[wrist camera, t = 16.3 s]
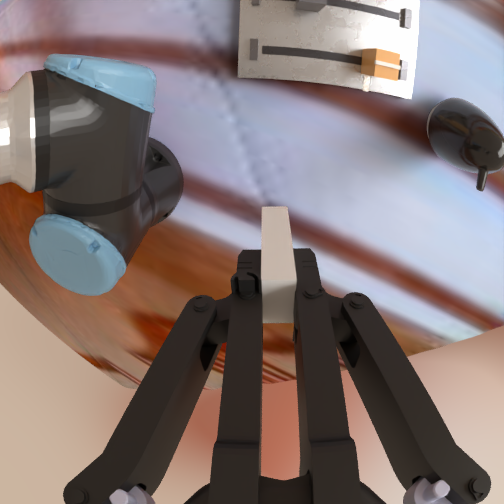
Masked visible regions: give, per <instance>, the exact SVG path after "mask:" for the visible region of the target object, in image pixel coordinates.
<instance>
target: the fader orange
mask: <svg viewBox="0 0 504 504" xmlns="http://www.w3.org/2000/svg"><path fill="white" fill-rule="evenodd" d="M399 64H400V54H399V53H396V52H392V51H387V50H383V49H379V48H369V49H363V51H362V63H361V74H365V75H370V76H374V77H379V78H384V79H389V80H393V81H397V82H398V73H399V70H400V69H401V66H399Z"/></svg>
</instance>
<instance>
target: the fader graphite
mask: <svg viewBox="0 0 504 504" xmlns="http://www.w3.org/2000/svg"><path fill="white" fill-rule="evenodd" d="M326 5H327V0H296V9H298V10H308V11H316V12H319V11H320V10H321V9H322V8H323V7H325V6H326Z"/></svg>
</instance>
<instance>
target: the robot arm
mask: <svg viewBox="0 0 504 504" xmlns="http://www.w3.org/2000/svg"><path fill="white" fill-rule="evenodd" d="M43 67H44V68H45V69H43V70H37V71H30V72H26V73H25V74H24V75H23V76H22V77H21V78H20V79H19V80H18V81H17V82H16V84H15V85H14V86H13V87H12V88H11V89H9V90H7V91H5V92H0V184H4V183H8V182H13V183H16V184H18V185H19V186H20V187H22V188H23V189H25V190H26V191H27V192H29V193H32V192H36V191H40V190H43V203H44V213H43V215H42V216H41V217H39V218H37V219H36V220H35V223H34V226H33V227H32V229H31V231H30V236H29V243H30V248H31V251H32V254H33V256H34V258H35V260H36V261H37V263H38V264H39V266H40V267H41V268H42V270H43V271H44V272H45V273H46V274H47V275H48V276H50V277H51V278H52V279H53V280H54V281H55V282H56V283H58V284H59V285H61V286H62V287H64V288H66V289H68V290H70V291H73V292H75V293H78V294H82V295H89V296H95V295H101V294H103V293H105V292H108V291H110V290H111V289H112V288H113V287H114V286H115V284H116V283H117V281H118V280H119V279H120V278H121V277H122V276H123V274H124V273H125V269H126V267H127V265H128V264H129V262H130V260H131V258H132V257H133V255H134V253H135V251H136V250H137V248H138V246H139V245H140V243H141V241H142V239H143V238H144V236H145V234H146V233H147V231H148V229H149V228H150V227H152V226H154V225H156V224H157V223H159V222H161V221H163V220H164V219H166V218H167V217H168V216H169V215H170V214H171V213H172V212H173V210H174V209H175V207H176V205H177V204H178V202H179V200H180V198H181V195H182V191H183V175H182V170H181V167H180V165H179V163H178V161H177V159H176V157H175V156H174V154H173V153H172V152H171V151H170V150H169V149H168V148H167V147H166V146H165V145H163V144H162V143H161V142H159V141H157V140H155V139H153V138H150V137H149V130H150V124H151V118H152V113H154V111H155V108H154V107H153V104H154V97H155V90H156V83H157V82H156V76H155V74H154V72H153V71H152V70H151V69H150V68H148V67H146V66H143V65H139V64H135V63H130V62H125V61H119V60H113V59H106V58H99V57H92V56H82V55H69V54H51V55H49V56H48V57H47V59H46V62H44V66H43ZM231 289H232V294H230V295H229V296H228V297H226V298H223V299H220V300H216V301H215V300H214V299H213V298H212V297H209V296H207V295H199V296H195V297H193V298H192V299H190V300H189V301H188V302H187V304H186V306H185V307H184V309H183V311H182V312H181V314H180V316H179V318H178V319H177V321H176V323H175V324H174V326H173V328H172V330H171V331H170V333H169V335H168V336H167V338H166V340H165V342H164V343H163V345H162V347H161V349H160V350H159V352H158V354H157V356H156V357H155V359H154V361H153V363H152V364H151V366H150V368H149V370H148V371H147V373H146V375H145V377H144V378H143V380H142V382H141V384H140V386H139V387H138V389H137V391H136V393H135V395H134V396H133V398H132V400H131V402H130V404H129V405H128V407H127V409H126V411H125V413H124V414H123V416H122V418H121V420H120V422H119V424H118V425H117V427H116V429H115V431H114V433H113V435H112V436H111V438H110V440H109V442H108V444H107V446H106V448H105V450H104V451H103V453H102V454H101V455H100V456H99V457H98V458H97V459H95V460H94V461H93V462H92V463H91V464H90V465H89V466H88V467H86V468H85V469H84V470H83V471H82V472H81V473H79V474H78V475H77V476H76V477H75V478H74V479H72V480H71V481H70V482H69V483H68V484H67V486H66V487H65V489H64V493H63V497H64V501H65V503H66V504H155V502H154V500H153V498H152V497H151V496H152V495H153V493H154V492H155V491H156V489H157V488H158V486H159V485H160V483H161V481H162V479H163V477H164V475H165V473H166V471H167V469H168V467H169V464H170V462H171V460H172V458H173V455H174V453H175V451H176V449H177V446H178V444H179V442H180V440H181V437H182V435H183V433H184V430H185V428H186V426H187V424H188V421H189V419H190V417H191V415H192V412H193V410H194V408H195V405H196V403H197V401H198V399H199V396H200V394H201V392H202V389H203V387H204V385H205V383H206V380H207V378H208V376H209V373H210V371H211V369H212V367H213V364H214V362H215V360H216V357H217V355H218V353H219V350H220V348H221V346H222V343H225V342H227V346H226V355H225V365H224V374H223V384H222V394H221V404H220V415H219V425H218V436H217V441H216V442H215V444H214V448H213V456H212V467H211V478H210V483H209V484H207V485H205V486H203V487H202V488H201V489H199V490H198V491H197V492H196V493H195V494H194V495H193V496H191V498H189V499H188V500H187V501H186V502H185V503H184V504H386V503H385V502H384V501H383V500H382V499H381V498H379V497H378V496H377V495H376V494H375V493H374V492H373V491H372V490H371V489H370V488H369V487H368V486H366V485H365V484H364V483H362V482H361V481H360V479H359V470H358V460H357V452H356V446H355V442H354V440H353V439H352V438H351V437H350V434H349V427H348V420H347V412H346V405H345V398H344V392H343V385H342V378H341V372H340V366H339V360H338V354H337V349H338V351H339V353H340V355H341V357H342V359H343V361H344V363H345V365H346V367H347V370H348V371H349V374H350V376H351V378H352V380H353V382H354V384H355V386H356V389H357V390H358V393H359V395H360V397H361V399H362V401H363V403H364V406H365V408H366V410H367V412H368V414H369V417H370V419H371V421H372V423H373V425H374V427H375V430H376V432H377V434H378V436H379V439H380V441H381V443H382V445H383V447H384V449H385V452H386V454H387V457H388V459H389V461H390V463H391V466H392V468H393V470H394V472H395V474H396V476H397V478H398V480H399V481H400V483H401V484H402V486H403V487H404V488H405V489H406V493H405V495H404V499H403V504H476V503H479V502H481V501H483V500H484V498H486V497H487V495H488V493H489V491H490V488H491V480H490V476H489V475H488V474H487V472H486V471H485V470H484V469H482V468H481V467H480V466H479V465H478V464H477V463H476V462H475V461H474V460H473V459H472V458H470V457H469V456H468V455H467V454H466V453H465V452H464V451H463V450H462V449H461V448H459V447H458V446H457V445H456V443H455V442H454V440H453V438H452V436H451V434H450V432H449V430H448V428H447V426H446V424H445V423H444V421H443V419H442V417H441V415H440V414H439V412H438V410H437V408H436V406H435V404H434V403H433V401H432V399H431V397H430V396H429V394H428V392H427V390H426V389H425V387H424V385H423V383H422V382H421V380H420V378H419V377H418V375H417V373H416V372H415V370H414V368H413V367H412V365H411V363H410V362H409V360H408V358H407V357H406V355H405V353H404V352H403V350H402V348H401V347H400V345H399V344H398V342H397V340H396V339H395V337H394V336H393V334H392V333H391V331H390V329H389V328H388V326H387V325H386V323H385V322H384V320H383V318H382V317H381V315H380V314H379V312H378V311H377V309H376V308H375V306H374V305H373V303H372V302H371V300H370V299H369V298H368V297H367V296H366V295H364V294H362V293H357V292H354V293H349V294H347V295H346V296H345V297H344V298H339V297H334V296H331V295H329V294H328V293H326V292H325V290H324V288H322V285H321V280H320V276H319V271H318V267H317V262H316V257H315V254H314V253H313V251H312V250H311V249H310V248H301V249H293V245H292V238H291V230H290V223H289V216H288V208H287V207H262V244H261V250H242V252H241V253H240V254H239V256H238V264H237V272H236V273H235V274H234V275H233V276H232V278H231ZM293 321H294V332H293V341H294V346H295V361H296V377H297V394H298V414H299V437H300V471H299V472H300V473H299V477H297V478H293V479H289V480H278V479H273V478H268V477H264V476H261V431H262V428H261V427H262V362H263V323H293ZM336 347H337V348H336Z"/></svg>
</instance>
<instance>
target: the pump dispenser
mask: <svg viewBox="0 0 504 504" xmlns="http://www.w3.org/2000/svg"><path fill="white" fill-rule="evenodd" d="M427 134H428V138H429V141H430V144H431V146H432V148H433V150H434V152H435V153H436V154H437V155H438V156H439V157H440V158H441V159H442V160H444V161H445V162H447V163H449V164H451V165H453V166H455V167H457V168H459V169H462V170H465V171H468V172H473V173H478V177H477V186H476V188H477V190H479V191H483V190H484V187H485V183H486V179H487V175H488V174H490V173H495V172H497V171H500V170H501V169H502V168H503V167H504V136H503V134H502V132H501V131H500V129H499V128H498V126H497V125H496V124H495V122H494V121H493V120H492V119H491V118H490V117H489V116H488V115H487V114H486V113H485V112H484V111H482V110H481V109H480V108H478V107H477V106H475V105H474V104H472V103H470V102H468V101H466V100H463V99H460V98H449V99H446V100H444V101H442V102H440V103H439V104H437V105H436V106H435V107H434V108H433V109H432V111H431V112H430V114H429V117H428V120H427Z"/></svg>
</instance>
